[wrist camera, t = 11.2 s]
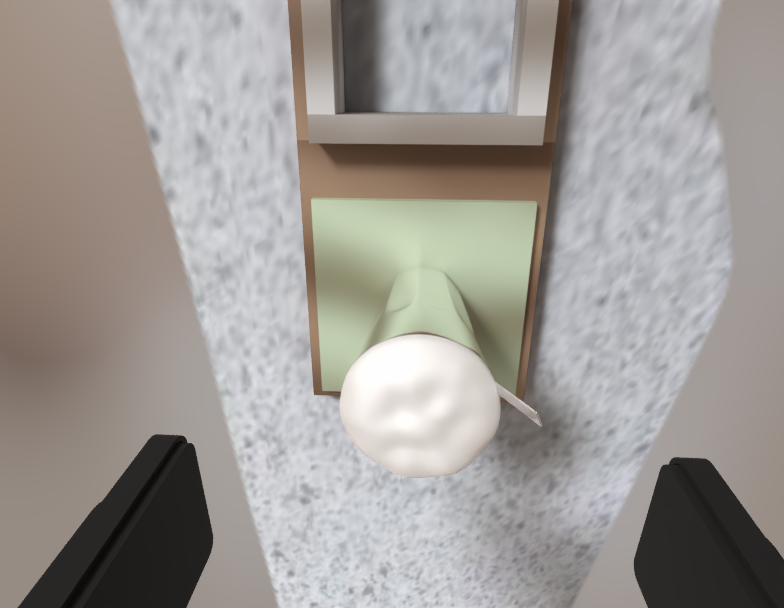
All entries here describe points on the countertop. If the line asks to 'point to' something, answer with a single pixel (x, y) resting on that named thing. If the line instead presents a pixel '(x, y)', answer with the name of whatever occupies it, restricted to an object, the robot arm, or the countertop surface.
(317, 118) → the board
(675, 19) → the countertop surface
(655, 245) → the countertop surface
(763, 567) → the robot arm
